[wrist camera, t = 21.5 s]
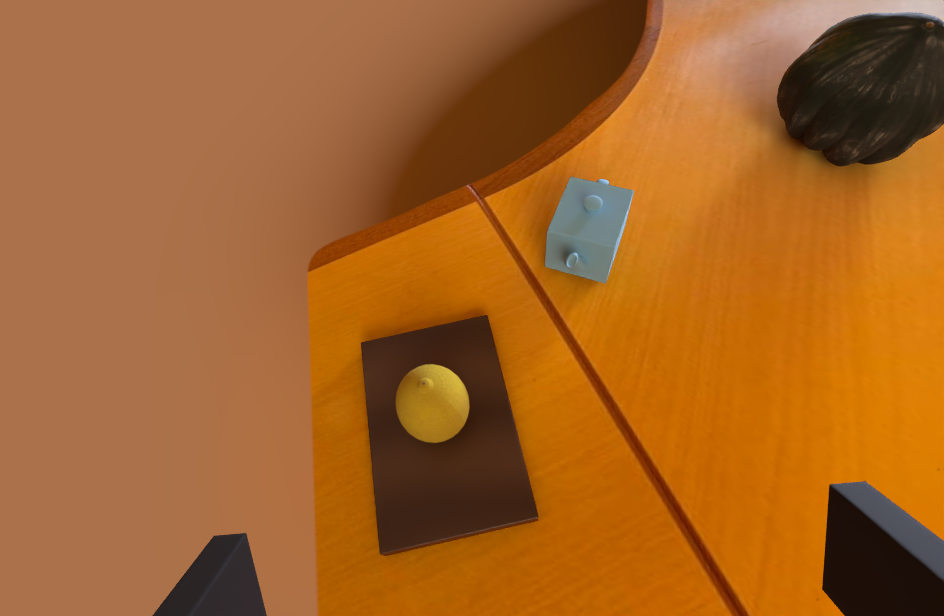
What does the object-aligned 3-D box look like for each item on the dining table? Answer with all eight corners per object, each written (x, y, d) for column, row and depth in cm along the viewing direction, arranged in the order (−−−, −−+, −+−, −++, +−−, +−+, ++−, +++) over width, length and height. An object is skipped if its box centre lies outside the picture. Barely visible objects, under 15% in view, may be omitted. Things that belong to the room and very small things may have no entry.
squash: (835, 26, 57) (855, -47, 44) (978, 79, 51) (1048, 13, 38) (752, 139, 62) (747, 102, 49) (873, 199, 56) (904, 176, 43)
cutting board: (538, 520, 38) (538, 517, 36) (384, 556, 37) (379, 554, 36) (488, 322, 47) (487, 314, 46) (365, 349, 47) (360, 342, 46)
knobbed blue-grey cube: (595, 317, 46) (606, 270, 40) (533, 298, 48) (535, 251, 42) (626, 224, 52) (640, 170, 45) (569, 210, 53) (576, 156, 47)
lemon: (487, 414, 41) (479, 375, 34) (444, 468, 39) (427, 438, 32) (436, 377, 43) (420, 334, 36) (394, 427, 41) (368, 391, 34)
